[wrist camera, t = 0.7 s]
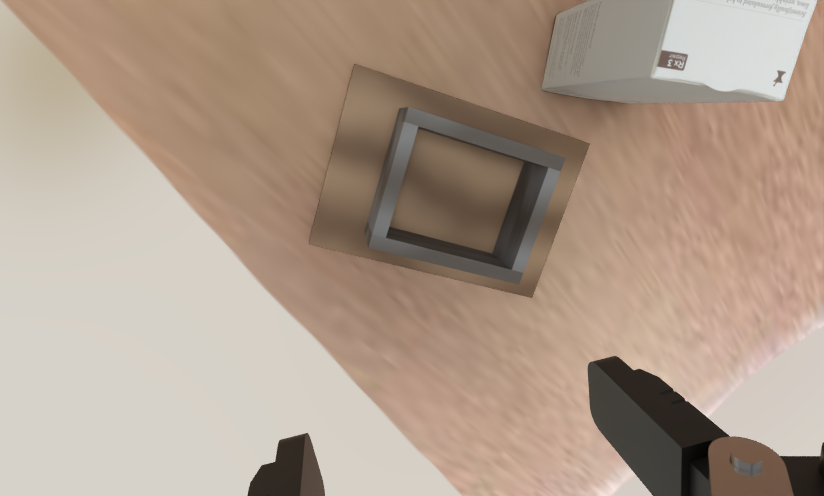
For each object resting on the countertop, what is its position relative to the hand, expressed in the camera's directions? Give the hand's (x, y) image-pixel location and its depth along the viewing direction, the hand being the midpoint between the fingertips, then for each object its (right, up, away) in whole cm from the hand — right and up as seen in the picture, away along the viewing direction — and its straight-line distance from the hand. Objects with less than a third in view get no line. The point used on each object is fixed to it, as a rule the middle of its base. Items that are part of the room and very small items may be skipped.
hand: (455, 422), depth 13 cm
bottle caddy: (+2, +10, +25) cm, 27 cm away
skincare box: (+13, +20, +25) cm, 34 cm away
